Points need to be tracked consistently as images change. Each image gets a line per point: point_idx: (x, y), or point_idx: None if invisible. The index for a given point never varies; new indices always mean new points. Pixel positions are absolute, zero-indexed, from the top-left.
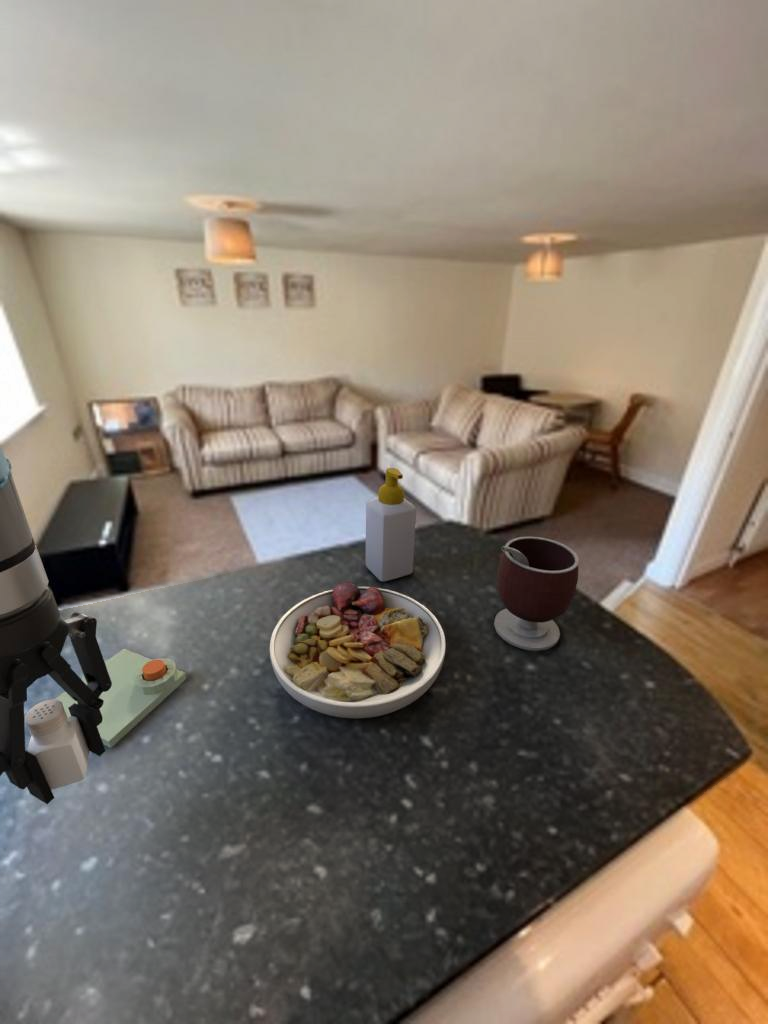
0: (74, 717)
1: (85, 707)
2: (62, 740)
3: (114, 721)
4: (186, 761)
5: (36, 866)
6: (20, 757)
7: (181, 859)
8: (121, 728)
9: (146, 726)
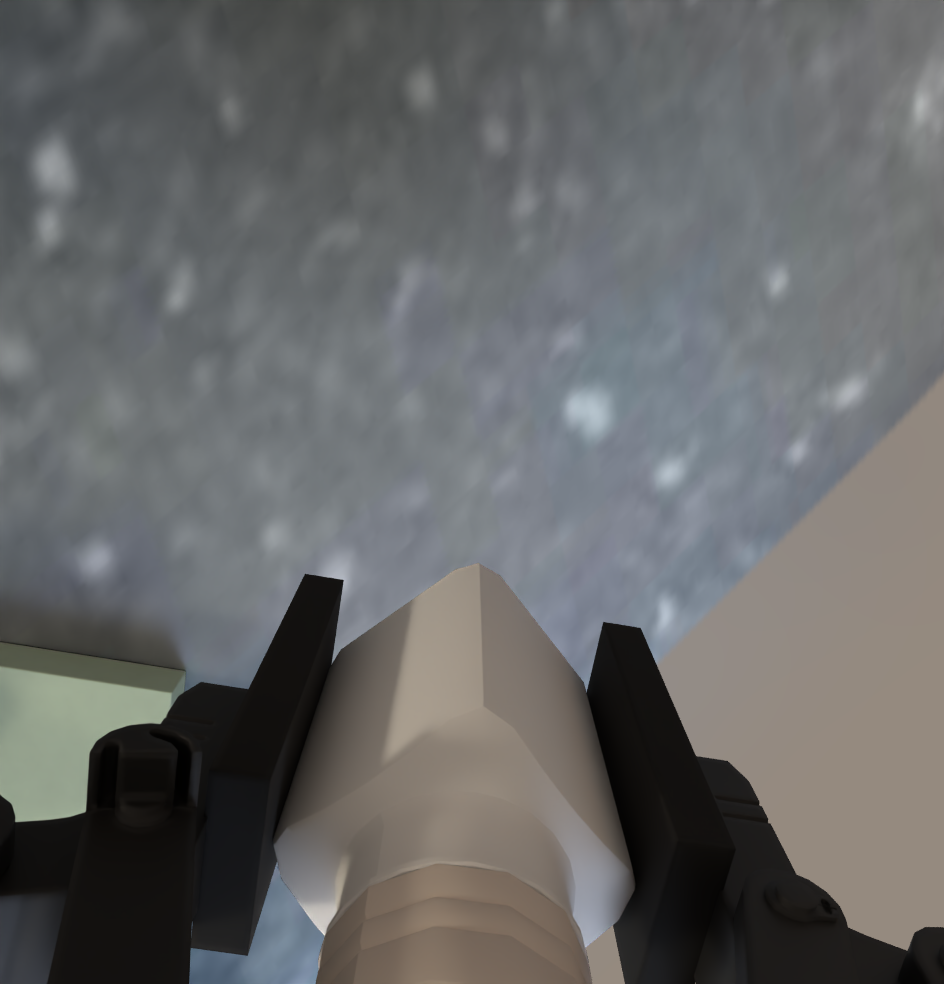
0: (283, 853)
1: (201, 838)
2: (491, 777)
3: (81, 739)
4: (122, 309)
5: (633, 584)
6: (780, 923)
7: (498, 49)
8: (99, 686)
9: (43, 603)
